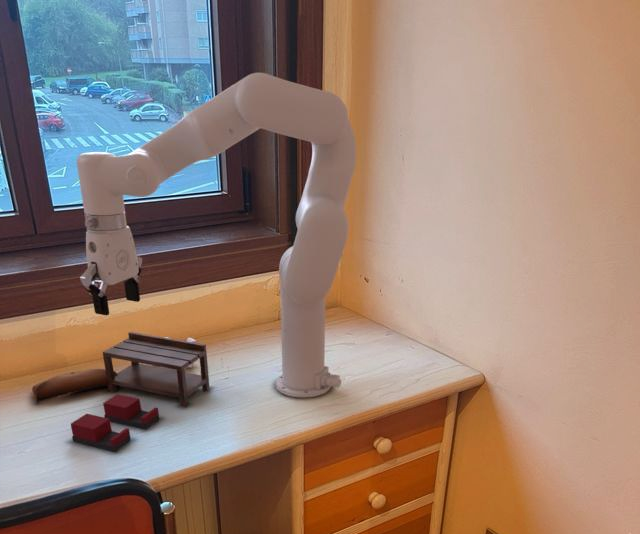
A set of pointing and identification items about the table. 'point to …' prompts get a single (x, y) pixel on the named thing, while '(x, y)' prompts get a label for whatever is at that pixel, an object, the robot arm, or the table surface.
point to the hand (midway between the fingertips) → (118, 307)
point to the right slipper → (129, 412)
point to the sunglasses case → (70, 383)
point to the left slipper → (98, 433)
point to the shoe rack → (161, 355)
